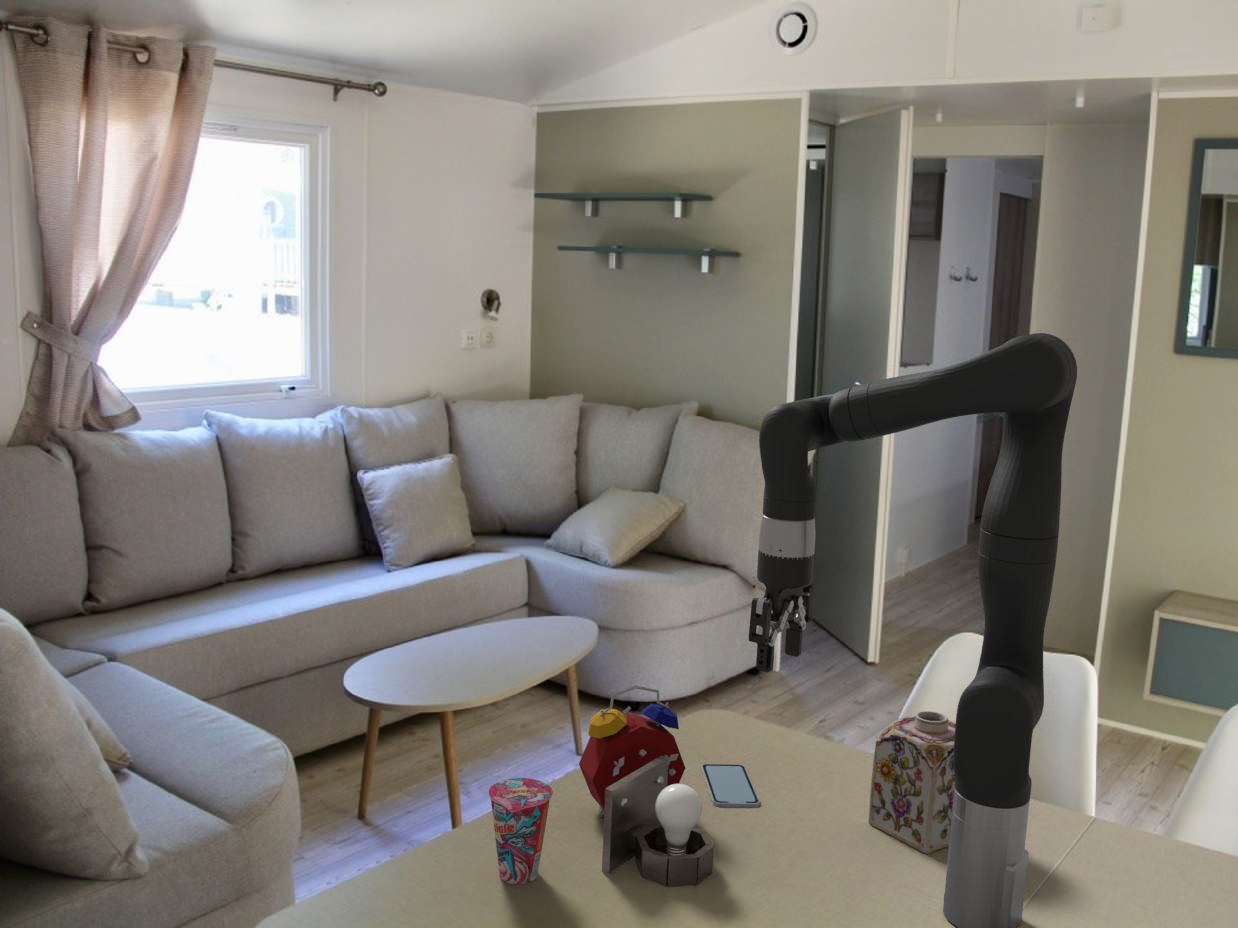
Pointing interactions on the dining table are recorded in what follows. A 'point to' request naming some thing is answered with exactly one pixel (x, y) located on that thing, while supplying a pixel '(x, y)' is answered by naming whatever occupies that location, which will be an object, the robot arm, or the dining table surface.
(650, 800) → the bracket
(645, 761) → the alarm clock
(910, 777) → the decorative jar
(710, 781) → the smartphone
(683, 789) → the lightbulb
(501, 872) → the cup
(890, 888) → the dining table surface
